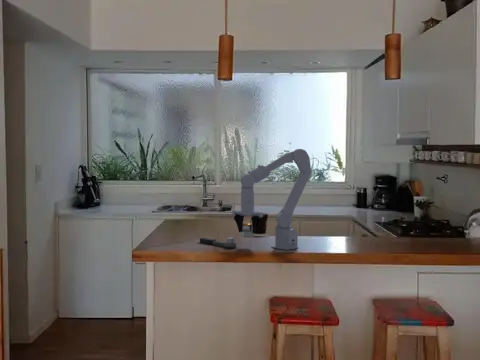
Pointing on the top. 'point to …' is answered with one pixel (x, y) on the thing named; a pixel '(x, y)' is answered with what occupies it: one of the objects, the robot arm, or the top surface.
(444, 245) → the top surface
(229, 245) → the ratchet
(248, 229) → the socket
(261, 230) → the coffee mug
